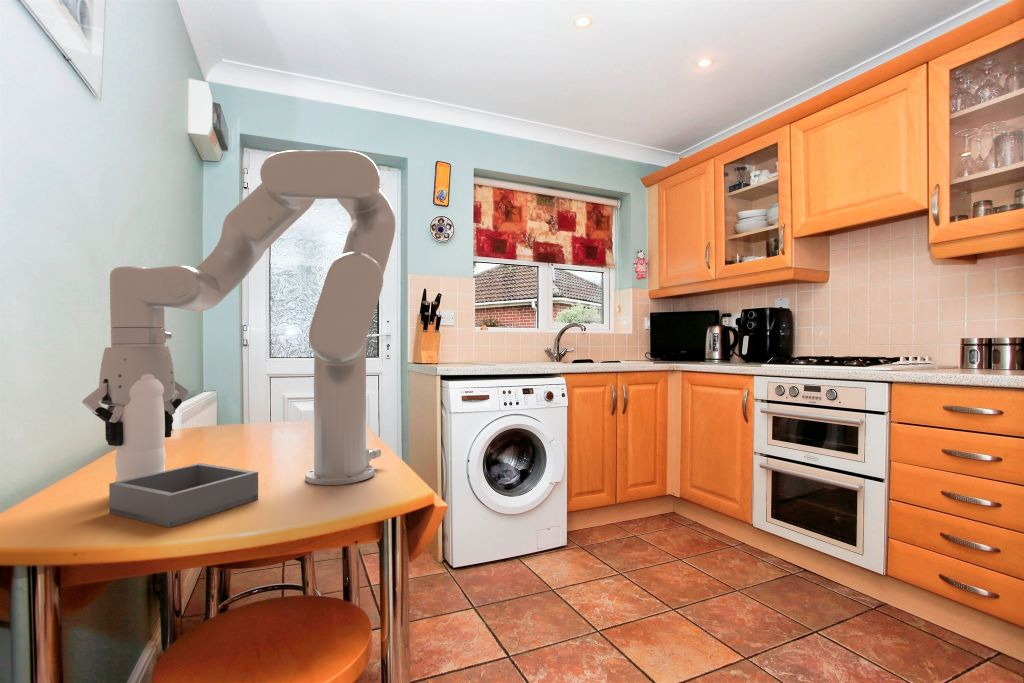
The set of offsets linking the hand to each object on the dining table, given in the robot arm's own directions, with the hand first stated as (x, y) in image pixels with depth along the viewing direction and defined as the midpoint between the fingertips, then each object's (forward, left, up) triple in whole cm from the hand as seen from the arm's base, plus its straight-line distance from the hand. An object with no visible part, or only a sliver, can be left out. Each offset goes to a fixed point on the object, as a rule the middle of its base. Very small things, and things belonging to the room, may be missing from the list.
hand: (140, 440), depth 87 cm
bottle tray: (+1, +15, -9) cm, 17 cm away
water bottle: (0, 0, -9) cm, 9 cm away
